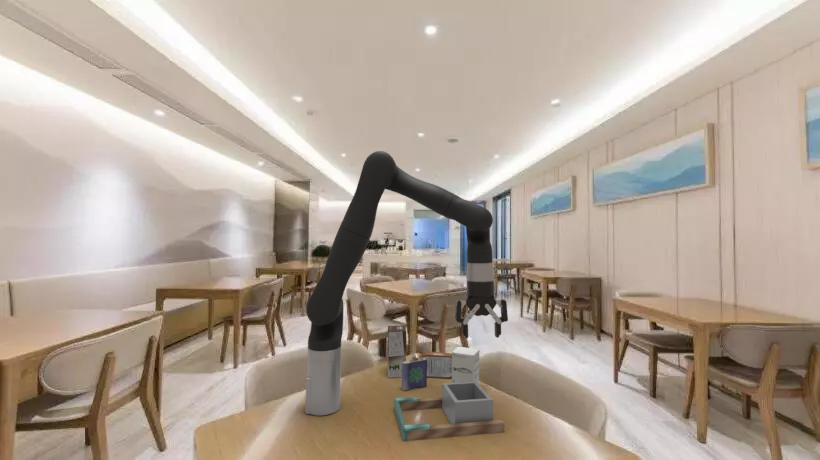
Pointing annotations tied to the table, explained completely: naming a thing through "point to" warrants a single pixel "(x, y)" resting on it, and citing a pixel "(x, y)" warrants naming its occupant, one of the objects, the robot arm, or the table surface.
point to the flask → (414, 373)
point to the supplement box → (465, 365)
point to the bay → (438, 430)
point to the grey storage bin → (466, 403)
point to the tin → (438, 364)
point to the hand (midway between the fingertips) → (481, 337)
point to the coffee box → (396, 350)
